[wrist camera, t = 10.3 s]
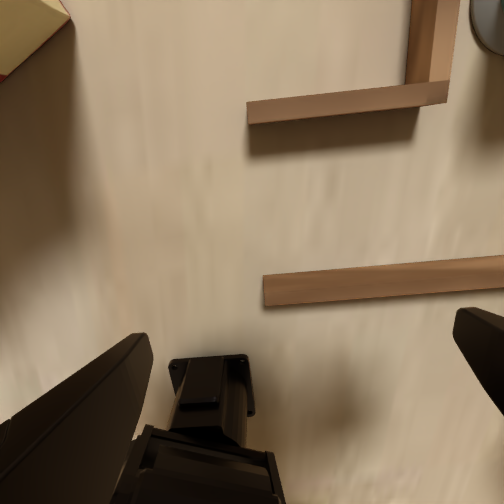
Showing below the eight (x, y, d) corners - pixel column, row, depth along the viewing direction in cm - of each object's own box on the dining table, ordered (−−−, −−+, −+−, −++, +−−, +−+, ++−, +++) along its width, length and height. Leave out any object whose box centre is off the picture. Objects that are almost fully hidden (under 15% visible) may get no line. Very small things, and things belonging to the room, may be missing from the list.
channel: (562, 262, 21) (600, 279, 18) (264, 287, 22) (265, 306, 19) (692, -141, 13) (784, -198, 11) (230, -79, 14) (225, -119, 12)
